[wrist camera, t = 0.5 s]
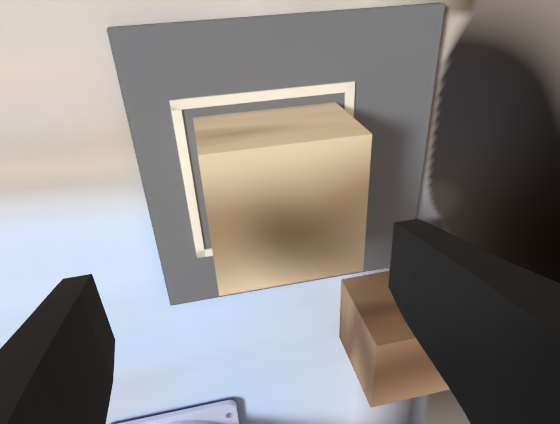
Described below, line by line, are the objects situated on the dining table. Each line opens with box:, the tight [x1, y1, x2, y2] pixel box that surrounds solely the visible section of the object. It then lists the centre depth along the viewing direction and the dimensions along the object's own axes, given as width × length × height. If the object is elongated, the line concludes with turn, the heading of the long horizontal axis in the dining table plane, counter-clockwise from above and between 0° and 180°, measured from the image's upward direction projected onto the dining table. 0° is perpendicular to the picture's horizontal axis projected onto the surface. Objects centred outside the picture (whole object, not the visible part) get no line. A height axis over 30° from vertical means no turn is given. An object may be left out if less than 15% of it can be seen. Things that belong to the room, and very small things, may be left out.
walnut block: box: [339, 271, 450, 407], centre depth 24 cm, size 4×4×5 cm
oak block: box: [193, 102, 372, 296], centre depth 18 cm, size 6×6×4 cm
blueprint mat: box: [107, 3, 445, 305], centre depth 20 cm, size 13×13×1 cm
